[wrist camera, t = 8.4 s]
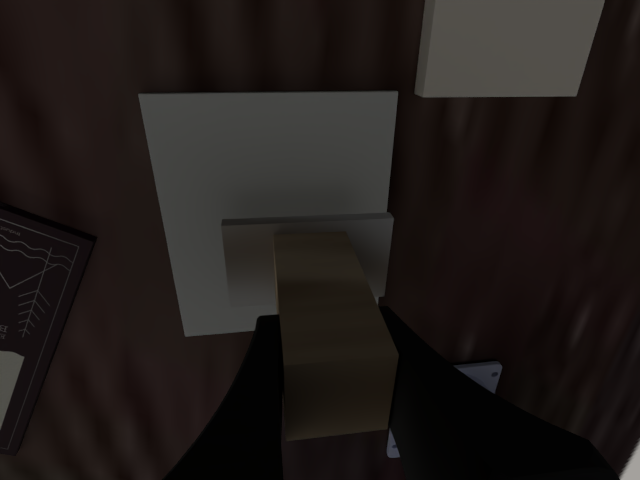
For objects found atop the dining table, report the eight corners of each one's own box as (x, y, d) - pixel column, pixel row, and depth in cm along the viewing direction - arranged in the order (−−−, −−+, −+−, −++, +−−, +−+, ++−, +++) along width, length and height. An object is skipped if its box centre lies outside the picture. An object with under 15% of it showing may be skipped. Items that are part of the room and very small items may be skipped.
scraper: (380, 288, 19) (447, 432, 12) (230, 298, 18) (216, 460, 11) (389, 212, 17) (474, 333, 10) (222, 219, 16) (199, 357, 9)
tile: (576, 96, 20) (629, -81, 17) (423, 97, 19) (447, -92, 16) (554, 91, 21) (599, -73, 18) (411, 92, 20) (431, -82, 17)
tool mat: (374, 316, 26) (376, 319, 26) (186, 332, 25) (185, 336, 24) (395, 90, 20) (398, 91, 19) (140, 92, 18) (138, 94, 18)
